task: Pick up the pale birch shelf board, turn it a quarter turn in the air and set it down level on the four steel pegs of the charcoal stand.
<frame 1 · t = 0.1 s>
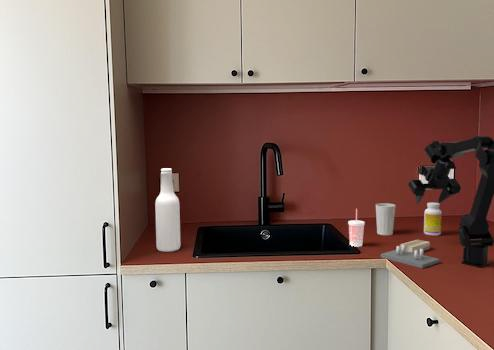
hand: (427, 202, 189), 15 cm above the counter, tool tilted 35°, fingers open, 9 cm apart
cup: (384, 233, 203), on the counter
peg stand: (409, 259, 165), on the counter
shelf board: (414, 251, 177), on the counter
beverage cup: (355, 245, 185), on the counter
white bottle: (168, 249, 181), on the counter
supplement bottle: (432, 234, 201), on the counter
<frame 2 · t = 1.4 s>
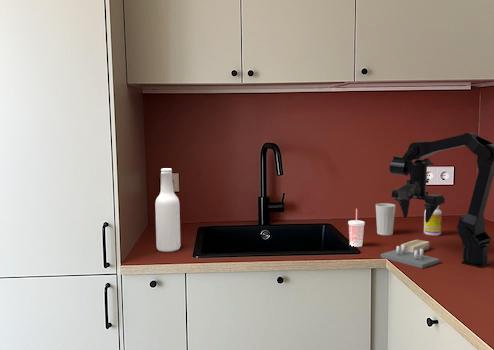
hand: (415, 219, 176), 11 cm above the counter, tool pointing down, fingers open, 9 cm apart
nothing on the counter moved.
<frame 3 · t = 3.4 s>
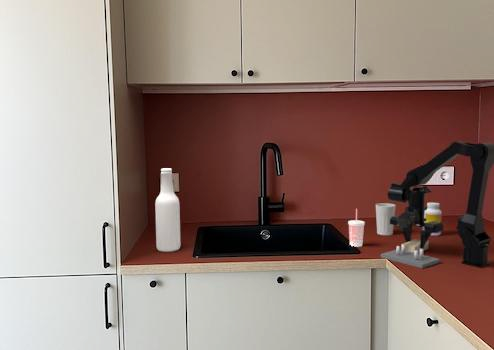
hand: (414, 246, 177), 1 cm above the counter, tool pointing down, fingers closed on shelf board, 5 cm apart
shelf board: (414, 250, 177), on the counter, touching gripper
everything else where it was.
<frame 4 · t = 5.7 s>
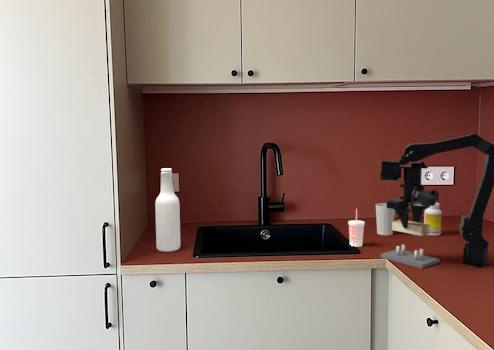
hand: (410, 227, 165), 11 cm above the counter, tool pointing down, fingers closed on shelf board, 5 cm apart
shelf board: (410, 231, 165), point 9 cm above the counter, touching gripper
everything else where it was.
when the fingers open (7 cm above the counter, at t = 7.5 s): shelf board drops 1 cm, resting on peg stand.
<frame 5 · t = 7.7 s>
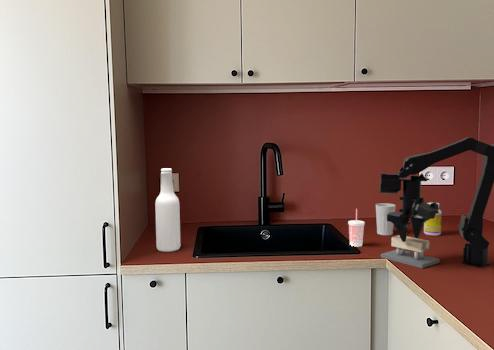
hand: (410, 240, 164), 7 cm above the counter, tool pointing down, fingers open, 7 cm apart
shelf board: (409, 247, 164), point 4 cm above the counter, touching peg stand
everything else where it was.
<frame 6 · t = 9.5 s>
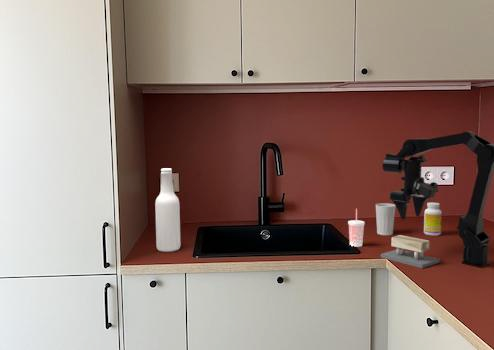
hand: (410, 217, 174), 12 cm above the counter, tool pointing down, fingers open, 9 cm apart
nothing on the counter moved.
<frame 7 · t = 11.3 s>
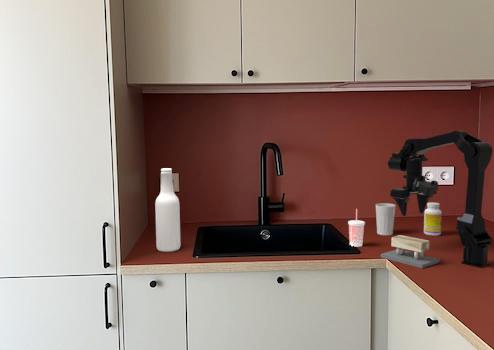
hand: (412, 214, 181), 12 cm above the counter, tool pointing down, fingers open, 9 cm apart
nothing on the counter moved.
at the end: shelf board 0.0 cm off-centre on the peg stand, point 4.2 cm above the peg stand's base; shelf board tilted 0°; shelf board touching peg stand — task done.
